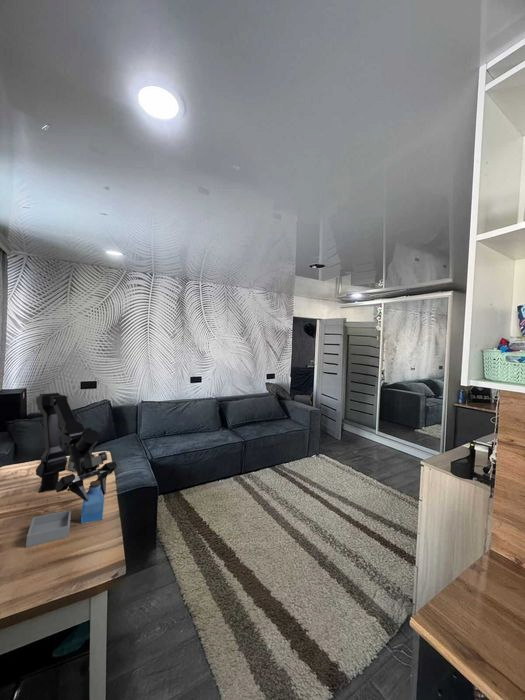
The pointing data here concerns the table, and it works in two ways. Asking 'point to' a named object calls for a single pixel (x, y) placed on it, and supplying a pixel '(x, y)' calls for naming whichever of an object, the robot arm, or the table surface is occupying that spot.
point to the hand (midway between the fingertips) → (96, 497)
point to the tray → (48, 528)
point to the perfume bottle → (93, 503)
